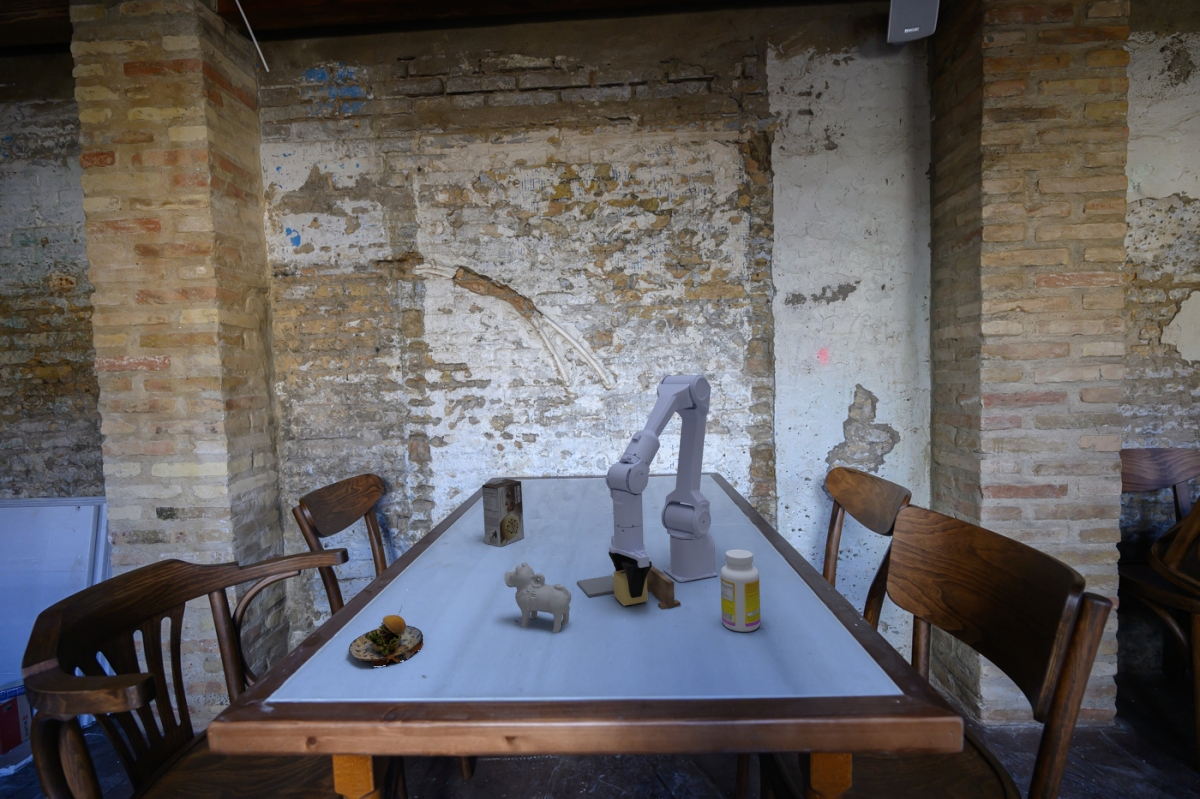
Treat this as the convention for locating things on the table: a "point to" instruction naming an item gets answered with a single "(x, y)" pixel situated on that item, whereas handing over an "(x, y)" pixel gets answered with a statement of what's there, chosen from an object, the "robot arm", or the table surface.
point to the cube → (626, 589)
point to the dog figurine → (538, 596)
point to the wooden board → (661, 588)
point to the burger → (387, 642)
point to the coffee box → (503, 512)
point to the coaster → (597, 586)
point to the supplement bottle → (740, 592)
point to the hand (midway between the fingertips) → (630, 591)
